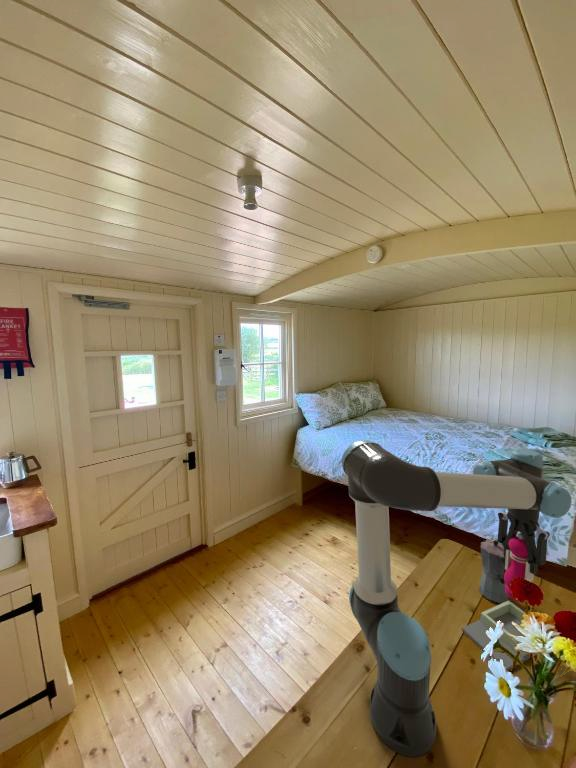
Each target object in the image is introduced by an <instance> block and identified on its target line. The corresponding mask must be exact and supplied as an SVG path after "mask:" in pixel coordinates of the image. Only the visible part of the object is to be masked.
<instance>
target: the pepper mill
mask: <svg viewBox="0 0 576 768" xmlns="http://www.w3.org/2000/svg"><path fill="white" fill-rule="evenodd" d="M509 548H510V557H511V559H512V560H511V564H510V566H509V567H508V569H507V570H506V572H505V574H504V581H505V583H506V585H505V592H506V594H507V595H508V596H509V599H510V598H511V599H512V600H514V601H515V602H519V601H518V600H516V599H515V598H514V597H513V595H512V593H511V590H510V584H511V581H512V580H513V579H514V578H515V577H522V578H523V579H525V570H526V561H528V560H529V558H528V552H527V547H526V542H525V539H524V538H523V534H522V533H521V532H518V533H517V535H516V536H515V537H512V538H511V539H510V540H509ZM532 583H533V581H532ZM533 584H534V583H533ZM519 603H520V602H519Z"/></svg>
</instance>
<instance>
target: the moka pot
mask: <svg viewBox="0 0 576 768" xmlns="http://www.w3.org/2000/svg"><path fill="white" fill-rule="evenodd" d="M503 553H504V547H503V545H502V544H501V543H498V540H496V539H495V540H494V539H493V540H491V539H486V540H485V541H482V542H480V554H481V565H482V573H481V578H480V584H479V588H478V590H479V592H480V593H481V595H482V596H483V597H484V598H486V599H488V600H489V601H491V602H495V603H499V604H502V603H504V602H506V601H508V600H509V599H510V597H509V596H508V595H507V594H506V592H505V585H506V583H505V581H504V574H505V572H506V569H505V560H506V558H505V557H504V555H503Z"/></svg>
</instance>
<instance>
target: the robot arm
mask: <svg viewBox="0 0 576 768" xmlns="http://www.w3.org/2000/svg"><path fill="white" fill-rule="evenodd" d="M341 457H342V458H341V467H342V470H343V473H344V474H345V475H346V476H347V483H348V495H349V497H350V498H351V499H352V500H353V502H354V504H355V523H356V526H355V527H356V528H355V529H356V544H357V547H356V549H357V562H358V563H357V565H358V567H357V568H358V576H357V577H356V578H355V580H354V582H353V585H352V586H350V590H349V592H348V601H349V602H348V603H349V604H350V605H349V606H350V608H351V611H352V615H353V616H354V618H355V620H356V621H357V623H358V626H359V627H360V629H361V631H362V633H363V636H364V638H365V639H366V641H367V643H368V646H369V647H370V649H371V651H372V654H373V656H374V658H375V660H376V664H377V674H376V675H377V677H376V678H377V680H376V682H375V684H374V685H373V688H372V691H371V693H370V696H369V697H370V698H369V717H370V720H371V723H372V726H373V729H374V730H375V733H376V732H377V733H376V734H377V735H378V737H379V738H380V740H381V739H382V740H383V741H382V740H381V741H382V743H384V744H385V745H386V744H387V745H388V746H389V747H390V748H389V747H388V746H387V745H386V746H387V747H388V748H389V749H391V750H392V749H393V750H392V751H394V752H395V751H396V752H395V753H397V754H399V755H403V756H405V757H414V758H415V757H416V758H417V757H420V756H423V755H425V754H426V753H428V752H429V751H430V750H432V748H433V746H434V744H435V741H436V736H437V735H436V734H437V720H436V715H435V710H434V707H433V705H432V702H431V699H430V682H431V681H430V680H431V679H430V678H431V677H430V676H431V664H432V653H431V645H430V641H429V637H428V635H427V632H426V630H425V629H424V627H423V626H422V625H421V624H420V623H419V622H418V621H417V620H416V619H415V618H414V617H409V616H408V614H406V613H404V612H402V610H401V609H400V607H399V602H398V601H399V600H398V599H399V597H398V587H397V584H396V583H395V581H394V580H393V578H392V574H391V573H392V569H391V568H392V567H391V564H392V563H391V544H390V542H391V541H390V540H391V539H390V538H391V537H390V515H389V511H390V510H389V508H393V509H397V510H405V511H413V512H414V511H418V512H434V511H436V510H437V509H438V508H439V507H441V508H442V507H443V508H470V509H471V508H473V509H474V508H476V509H503V510H504V511H500V512H497V517H498V520H499V521H498V531H497V541H498V543H499V544H502V545H503V547H504V553H503V555H504V557H505V558H506V560H505V569H506V570H507V569H508V567H509V566H510V564H511V560H512V559H511V557H510V548H509V540H510V539H511V538H512V537H515V536H518V534H519V533H522V534H523V538H524V539H525V542H526V547H527V552H528V558H529V560H528V561H526V570H525V580H527V581H529V582H533V581H534V576H535V574H537V573H538V567H539V566H543V565H545V564H546V563H547V553H548V552H547V550H548V539H549V537H550V535H551V534H550V532H549V531H547V530H546V531H545V530H543V529H542V528H541V527H540V524H539V519H540V513H541V514H543V515H546V516H548V517H550V518H552V519H553V518H554V519H560V518H562V517H564V516H566V515H567V513H569V511H570V509H571V505H572V503H573V502H572V500H573V499H572V496H571V494H570V493H571V492H569V491H568V490H567V489H566V488H564V487H562V486H560V485H558V484H557V483H555V482H551V481H549V480H546V479H544V478H543V473H544V472H543V471H544V458H543V455H542V454H541V453H540V452H538V451H535V450H533V449H532V450H531V449H526V448H516V449H513V450H512V451H511V454H510V458H507V459H497V460H485V461H481V462H478V463H476V464H475V465H474V466H473V468H472V473H459V472H457V473H456V472H445V471H444V472H442V471H441V472H440V471H435V470H434V469H433V468H431V467H430V466H429V467H428V466H421V465H416V464H412V463H410V462H407V461H406V460H403V459H401V458H400V457H397V455H395V454H393V453H391V452H390V451H388V450H386V449H385V448H384V447H383V446H382V445H381V444H379V443H376V442H374V441H372V440H369V439H368V440H367V439H364V440H363V439H360V440H357V441H354V442H352V443H351V444H350V445H349V446H348V447H347V448H346V449H345V450H344V451H343V454H342V456H341ZM505 509H507V511H508V512H506V511H505ZM509 523H510V525H509ZM508 526H509V527H508ZM535 532H536V533H537V534H535ZM536 537H537V538H536ZM535 539H537V540H535Z"/></svg>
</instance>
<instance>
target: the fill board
mask: <svg viewBox="0 0 576 768" xmlns="http://www.w3.org/2000/svg"><path fill="white" fill-rule="evenodd" d="M524 613H526V612H525V611H524V610H523V609H521V608H520V607H519V606H517V605H516V604H515V603H513V602H511V600H509V599H508V601H506V602H504V603H499V604H498V605H495V606H493V607H491V608H488V609H486V610H484V611H482V612H480V619H478V620H476V621H474V622H472V623H470V624H467V625H465V626H463V627H461V631H462V633H464V634H465V635H466V636H467V637H468V638H469V639H470V640H471V641H472V642H473V643H474V644H476V645H477V646H478V647H479V649H480V650H482V651H483V649H484V647H485V646H486V645H487V644H488V643H489V638H488V637H487V635H486V633H485V632H486V630H487V629H488V628H490V627H491V628H495V626H496V622H497V621H499V620H500V621H502V622H503V623H504V628H503V631H504V635H503V636H502V637H501V639H500V641H499V642H500V643H501V644H502V645H503V646H504V647H505V648H507V649H508V650H509V651H510V652H511V653H512V654H513V655H517V652H516V651H515V650H514V647H515V644H516V643H517V642H516V641H515V640H514V639H513V638H511V637H510V636H508V635H507V633H511V634H515V635H517V636H521V634H520V633H519V632H518V631H517V630H516V629H515V628H513V626H512V625H511V622H512V621H513V622H515V623H517V624H520V622H521V620H522V615H523V614H524ZM529 657H530V655H529V654H528V653H525V652H520V655H519V658H520V660H521V661H522V662H523V663H524V662H526V661H528V660H529ZM489 658H491V656H490V657H489ZM493 658H494V659H502V660H503V661H504V663H505V665H506V669H507V670H508V671H510V670H511V669H510V668H511V667H512V665H513V660H512V659H511V658H510V657H509V656H507V655H506V654H505V653H501V652H494V653H493ZM519 665H520V664H517V665H516V666H515V667H517V666H519Z"/></svg>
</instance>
